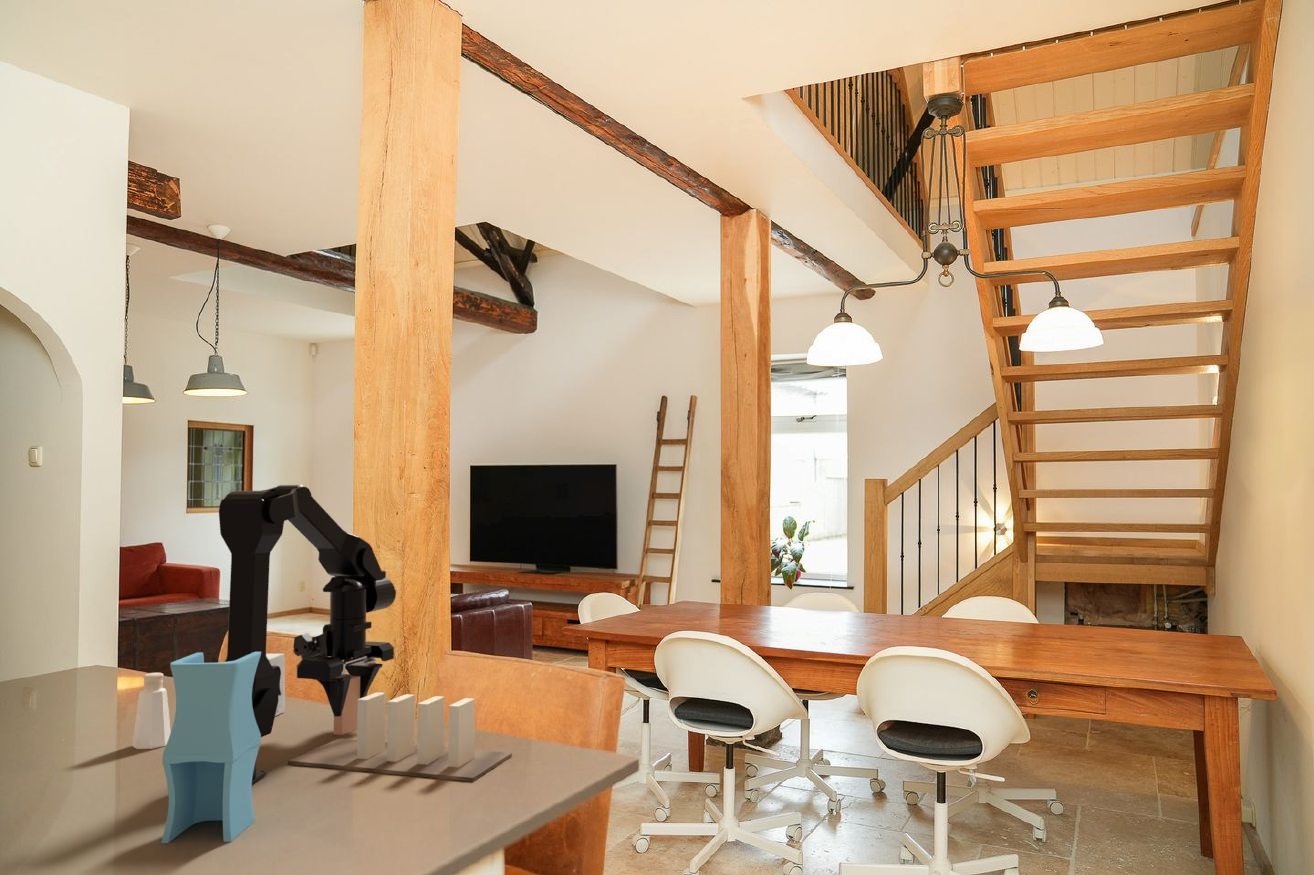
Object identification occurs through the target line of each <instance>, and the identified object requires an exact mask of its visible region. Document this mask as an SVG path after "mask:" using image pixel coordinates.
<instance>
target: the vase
mask: <svg viewBox="0 0 1314 875" xmlns="http://www.w3.org/2000/svg"><path fill="white" fill-rule="evenodd" d="M260 656H261V652H253V653H251V654H249V655H246V656H244V657H242V658H240V659H237V660H235V661H228V662H225V661H221V662H205V656H204V652H195V653H192V654H190V655H187V656H184V657H182V658H180V659H177V660H174V661H172V662H170V670H171V671H170V672H171V675H172V678H173V684H174V689H175V691H174V692H175V714H174V718H173V723H172V727H171V729H170V730H171V733H170V736H169V739H168V742H167V744H166V746H164V747H165V748H164V750H163V752H162V766H163V770H164V774H165V779H166V784H167V792H168V809H167V810H168V811H167V817H166V822H165V827H164V830H163V834H162V837H161V842H160V844H169V843H170V842H172V841H173V840H174V839H175V838H176V837H178V836H180V835H181V833H183V832H184V831H185V830H187V829H188V828H189V827H191V826H192V825H195V824H198V823H202V822H208V821H209V822H210V821H222V834H223V836H222V838H223V843H231V842H233V841H234V840H235V839H236V838H237V837H239V836H240V834H242V833H243V832H245V830H246V829H247V828H249V826H251V825H252V824H253V823H254V822H255V820H256V818H255V811H254V805H253V797H252V795H253V794H252V785H253V784H252V776H253V770H254V765H255V761H256V762H257V756H258V753H259V750H260V746H261V742H262V741H261V740H262V737H261V734H260V731H259V728H258V726H257V723H256V720H255V717H254V712H253V707H252V687H253V681H254V676H255V672H256V669H257V665H258V662H259V659H260Z"/></svg>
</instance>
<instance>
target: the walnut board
mask: <svg viewBox="0 0 1314 875" xmlns="http://www.w3.org/2000/svg"><path fill="white" fill-rule="evenodd" d="M417 746H418V744H415V753H413V754H411V755H409V756H407V757H405V758H403V759H401V760H399V761H397V762H392V761H387V741H385V750H384V751H382V752H380V753H378V754H376V755H374V756H372V757H370V758H368V759H359V758H357V739H350V738H349V739H348V738H341V737H340V738H337V739H334V740H332V741H330V742H327V743H325V744H322V745H321V746H318V747H316V748H314V749H311V750H309V751H307V752H306V751H305V753H302V754H300V755H298V756H295V757H293V758H289V759H287V765H295V766H304V767H305V766H306V767H316V768H323V769H324V768H326V769H334V770H335V769H336V770H337V769H338V770H344V771H345V770H348V771H356V772H357V771H358V772H366V773H367V772H368V773H379V774H388V775H389V774H390V775H398V776H410V777H411V776H412V777H419V778H420V777H421V778H429V779H431V778H432V779H441V780H442V779H443V780H452V781H462V782H475V781H477V780H478V779H479V778H481V777H482V776H484V775H485V774H487V773H488V772H491V770H493V769H495V768H496V767H498V766H499V765H500V764H502V763H504V762H505V761H507V760H508V759H510V758H512V756H513V754H512V752H507V751H506V752H505V751H494V750H483V749H482V750H481V749H475V758H473V759H472V760H470V761H469V762H467V763H465V764H464V765H462V766H460V767H449V746H447V747H445V746H444V756H442V757H440V758H438V759H436V760H435V761H433V762H431V763H429V764H428V765H426V764H417Z"/></svg>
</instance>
